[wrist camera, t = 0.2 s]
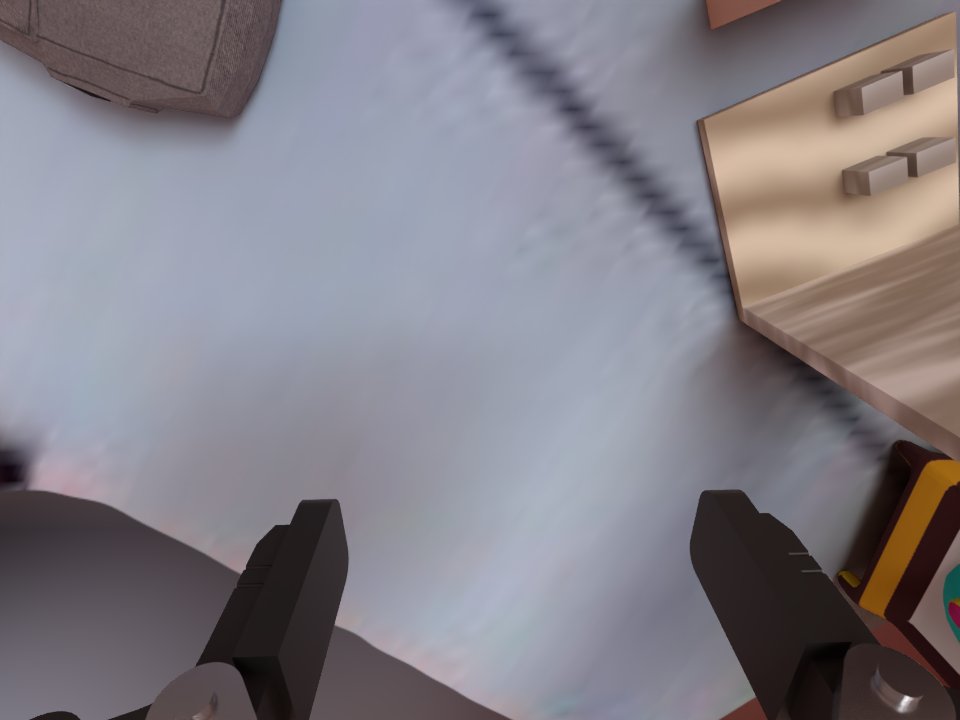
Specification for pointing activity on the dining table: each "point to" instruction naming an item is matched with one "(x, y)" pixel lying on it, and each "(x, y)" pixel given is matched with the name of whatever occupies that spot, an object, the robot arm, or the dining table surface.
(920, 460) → the decorative lantern
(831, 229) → the wooden bookend stand
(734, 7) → the door
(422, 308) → the dining table surface
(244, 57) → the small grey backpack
